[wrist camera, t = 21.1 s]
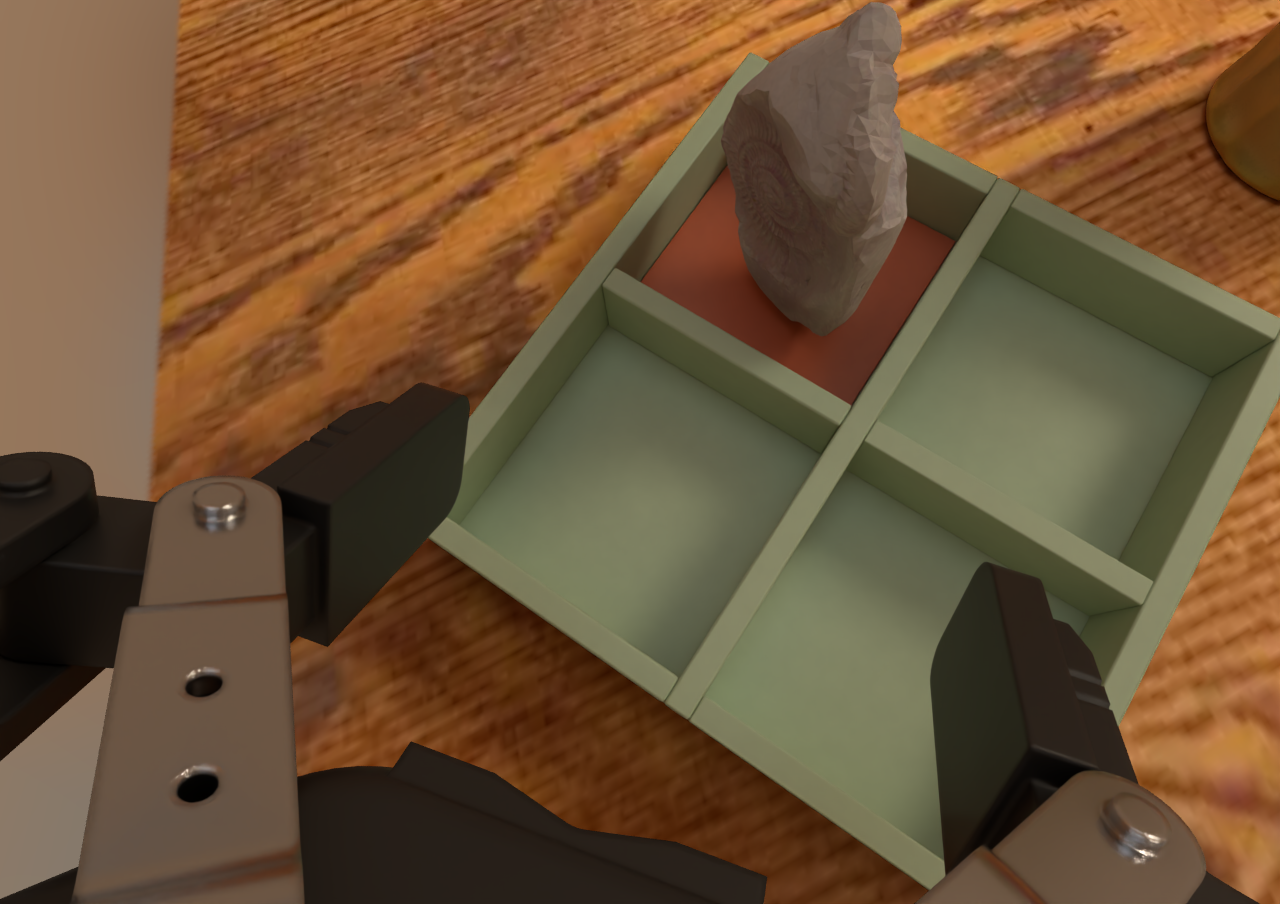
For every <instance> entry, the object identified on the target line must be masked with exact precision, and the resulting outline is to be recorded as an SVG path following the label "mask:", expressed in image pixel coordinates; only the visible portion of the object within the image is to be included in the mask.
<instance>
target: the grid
mask: <svg viewBox="0 0 1280 904" xmlns="http://www.w3.org/2000/svg"><path fill="white" fill-rule="evenodd" d="M769 64H770V63H769V62H768V61H767V60H765V59H763V58H761V57H759V56H757V55H755V54H753V53H749V54H748V56H747V57H746V58H745V59H744V61H743V62H742V63H741V65H740V66H739V67H738V69H737V70H736V71H735V73H734V74H733V75H732V76H731V78H730V79H729V80H728V82H727V83H726V84H725V86H724V87H723V88H722V89H721V91H720V92H719V93H718V95H717V96H716V97H715V99H714V100H713V101H712V102H711V104H710V105H709V106H708V108H707V109H706V110H705V112H704V113H703V114H702V115H701V117H700V118H699V119H698V121H697V122H696V123H695V125H694V126H693V127H692V129H691V130H690V131H689V132H688V134H687V135H686V136H685V138H684V139H683V140H682V142H681V143H680V144H679V145H678V147H677V148H676V149H675V151H674V152H673V153H672V155H671V156H670V157H669V158H668V160H667V161H666V162H665V164H664V165H663V166H662V168H661V169H660V170H659V171H658V173H657V174H656V175H655V177H654V178H653V179H652V181H651V182H650V183H649V184H648V186H647V187H646V188H645V190H644V191H643V192H642V194H641V195H640V196H639V198H638V199H637V200H636V201H635V203H634V204H633V205H632V207H631V208H630V209H629V211H628V212H627V213H626V214H625V216H624V217H623V218H622V220H621V221H620V222H619V224H618V225H617V226H616V227H615V229H614V230H613V231H612V233H611V234H610V235H609V237H608V238H607V239H606V240H605V242H604V243H603V244H602V246H601V247H600V248H599V250H598V251H597V252H596V254H595V255H594V256H593V257H592V259H591V260H590V261H589V263H588V264H587V265H586V267H585V268H584V269H583V270H582V272H581V273H580V274H579V276H578V277H577V278H576V280H575V281H574V282H573V283H572V285H571V286H570V287H569V289H568V290H567V291H566V293H565V294H564V295H563V296H562V298H561V299H560V300H559V302H558V303H557V304H556V306H555V307H554V308H553V309H552V311H551V312H550V313H549V315H548V316H547V317H546V319H545V320H544V321H543V323H542V324H541V325H540V326H539V328H538V329H537V330H536V332H535V333H534V334H533V336H532V337H531V338H530V339H529V341H528V342H527V343H526V345H525V346H524V347H523V349H522V350H521V351H520V352H519V354H518V355H517V356H516V358H515V359H514V360H513V362H512V363H511V364H510V365H509V367H508V368H507V369H506V371H505V372H504V373H503V375H502V376H501V377H500V378H499V380H498V381H497V382H496V384H495V385H494V386H493V388H492V389H491V390H490V392H489V393H488V394H487V395H486V397H485V398H484V399H483V401H482V402H481V403H480V405H479V406H478V407H477V408H476V410H475V411H474V412H473V414H472V415H471V416H470V418H469V421H468V429H467V438H466V447H465V456H464V465H463V474H462V482H461V487H460V490H459V494H458V497H457V499H456V502H455V504H454V506H453V508H452V510H451V512H450V513H449V515H448V516H447V517H446V518H445V520H444V521H443V522H442V523H441V524H440V525H439V526H438V527H437V528H436V529H435V530H434V532H433V533H432V534H431V535H430V536H429V537H428V538H429V539H430V540H431V541H433V542H434V543H436V544H437V545H439V546H440V547H441V548H443V549H444V550H446V551H447V552H449V553H450V554H451V555H453V556H454V557H456V558H457V559H458V560H460V561H461V562H463V563H464V564H466V565H467V566H468V567H470V568H471V569H473V570H474V571H476V572H477V573H478V574H480V575H481V576H483V577H484V578H485V579H487V580H488V581H490V582H491V583H493V584H494V585H495V586H497V587H498V588H500V589H501V590H503V591H504V592H505V593H507V594H508V595H510V596H511V597H513V598H514V599H515V600H517V601H518V602H520V603H521V604H522V605H524V606H525V607H527V608H528V609H530V610H531V611H532V612H534V613H535V614H537V615H538V616H540V617H541V618H542V619H544V620H545V621H547V622H548V623H550V624H551V625H552V626H554V627H555V628H557V629H558V630H559V631H561V632H562V633H564V634H565V635H567V636H568V637H569V638H571V639H572V640H574V641H575V642H577V643H578V644H579V645H581V646H582V647H584V648H585V649H587V650H588V651H589V652H591V653H592V654H594V655H595V656H596V657H598V658H599V659H601V660H602V661H604V662H605V663H606V664H608V665H609V666H611V667H612V668H614V669H615V670H616V671H618V672H619V673H621V674H622V675H623V676H625V677H626V678H628V679H629V680H631V681H632V682H633V683H635V684H636V685H638V686H639V687H641V688H642V689H643V690H645V691H646V692H648V693H649V694H651V695H652V696H653V697H655V698H656V699H658V700H659V701H661V702H664V703H665V704H666V706H668V707H669V708H670V709H672V710H673V711H675V712H676V713H678V714H679V715H680V716H682V717H683V718H685V719H688V720H689V722H690V723H692V724H693V725H695V726H696V727H697V728H699V729H700V730H702V731H703V732H705V733H706V734H707V735H709V736H710V737H712V738H713V739H715V740H716V741H717V742H719V743H720V744H722V745H723V746H724V747H726V748H727V749H729V750H730V751H732V752H733V753H734V754H736V755H737V756H739V757H740V758H742V759H743V760H744V761H746V762H747V763H749V764H750V765H751V766H753V767H754V768H756V769H757V770H759V771H760V772H761V773H763V774H764V775H766V776H767V777H769V778H770V779H771V780H773V781H774V782H776V783H777V784H779V785H780V786H781V787H783V788H784V789H786V790H787V791H788V792H790V793H791V794H793V795H794V796H796V797H797V798H798V799H800V800H801V801H803V802H804V803H806V804H807V805H808V806H810V807H811V808H813V809H814V810H816V811H817V812H818V813H820V814H821V815H823V816H824V817H825V818H827V819H828V820H830V821H831V822H833V823H834V824H835V825H837V826H838V827H840V828H841V829H843V830H844V831H845V832H847V833H848V834H850V835H851V836H853V837H854V838H855V839H857V840H858V841H860V842H861V843H862V844H864V845H865V846H867V847H868V848H870V849H871V850H872V851H874V852H875V853H877V854H878V855H880V856H881V857H882V858H884V859H885V860H887V861H888V862H889V863H891V864H892V865H894V866H895V867H897V868H898V869H899V870H901V871H902V872H904V873H905V874H907V875H908V876H909V877H911V878H912V879H914V880H915V881H917V882H918V883H919V884H921V885H922V886H924V887H925V888H926V889H928V890H930V889H931V888H933V887H934V886H935V885H936V884H937V883H938V882H939V881H940V880H942V879H943V878H944V877H945V865H944V853H943V840H942V828H941V815H940V803H939V790H938V777H937V765H936V752H935V740H934V727H933V715H932V702H931V689H930V673H931V666H932V662H933V658H934V654H935V651H936V648H937V645H938V643H939V641H940V639H941V637H942V635H943V633H944V631H945V629H946V627H947V625H948V623H949V621H950V619H951V617H952V615H953V614H954V612H955V610H956V608H957V606H958V604H959V602H960V600H961V598H962V596H963V594H964V592H965V590H966V588H967V587H968V585H969V583H970V581H971V579H972V577H973V575H974V573H975V571H976V570H977V569H978V567H979V566H980V565H981V564H982V563H984V562H990V563H993V564H996V565H999V566H1002V567H1005V568H1009V569H1012V570H1015V571H1018V572H1021V573H1024V574H1028V575H1031V576H1034V577H1037V578H1039V579H1040V580H1041V581H1042V584H1043V587H1044V590H1045V593H1046V597H1047V600H1048V603H1049V606H1050V610H1051V613H1052V616H1053V619H1056V620H1059V621H1062V622H1065V623H1068V624H1069V625H1070V626H1071V627H1072V628H1073V630H1074V631H1075V632H1076V633H1077V635H1078V636H1079V637H1080V638H1081V639H1082V641H1083V642H1084V643H1085V644H1086V646H1087V647H1088V648H1089V649H1090V651H1091V652H1092V653H1093V656H1094V659H1095V662H1096V665H1097V668H1098V670H1099V673H1100V676H1101V679H1102V682H1101V686H1104V687H1105V690H1106V693H1107V696H1108V699H1109V702H1110V706H1109V709H1110V710H1113V713H1114V716H1115V719H1116V722H1117V725H1118V727H1119V724H1120V722H1121V720H1122V718H1123V716H1124V714H1125V712H1126V710H1127V708H1128V706H1129V704H1130V702H1131V700H1132V698H1133V696H1134V694H1135V692H1136V690H1137V688H1138V686H1139V684H1140V682H1141V679H1142V677H1143V675H1144V673H1145V671H1146V669H1147V667H1148V665H1149V663H1150V661H1151V659H1152V657H1153V655H1154V653H1155V651H1156V649H1157V647H1158V645H1159V643H1160V641H1161V639H1162V636H1163V634H1164V632H1165V630H1166V628H1167V626H1168V624H1169V622H1170V620H1171V618H1172V616H1173V614H1174V612H1175V610H1176V608H1177V606H1178V604H1179V602H1180V600H1181V598H1182V596H1183V594H1184V591H1185V589H1186V587H1187V585H1188V583H1189V581H1190V579H1191V577H1192V575H1193V573H1194V571H1195V569H1196V567H1197V565H1198V563H1199V561H1200V559H1201V557H1202V555H1203V553H1204V551H1205V549H1206V546H1207V544H1208V542H1209V540H1210V538H1211V536H1212V534H1213V532H1214V530H1215V528H1216V526H1217V524H1218V522H1219V520H1220V518H1221V516H1222V514H1223V512H1224V510H1225V508H1226V506H1227V503H1228V501H1229V499H1230V497H1231V495H1232V493H1233V491H1234V489H1235V487H1236V485H1237V483H1238V481H1239V479H1240V477H1241V475H1242V473H1243V471H1244V469H1245V467H1246V465H1247V463H1248V461H1249V458H1250V456H1251V454H1252V452H1253V450H1254V448H1255V446H1256V444H1257V442H1258V440H1259V438H1260V436H1261V434H1262V432H1263V430H1264V428H1265V426H1266V424H1267V422H1268V420H1269V418H1270V415H1271V413H1272V411H1273V409H1274V407H1275V405H1276V403H1277V401H1278V399H1279V397H1280V318H1278V317H1276V316H1274V315H1273V314H1271V313H1269V312H1267V311H1265V310H1263V309H1261V308H1259V307H1257V306H1255V305H1253V304H1251V303H1249V302H1247V301H1245V300H1243V299H1241V298H1239V297H1237V296H1235V295H1233V294H1231V293H1229V292H1227V291H1225V290H1223V289H1221V288H1219V287H1217V286H1215V285H1213V284H1211V283H1209V282H1207V281H1205V280H1203V279H1201V278H1199V277H1197V276H1195V275H1193V274H1191V273H1189V272H1187V271H1185V270H1183V269H1181V268H1179V267H1177V266H1175V265H1173V264H1171V263H1169V262H1167V261H1165V260H1163V259H1161V258H1159V257H1157V256H1155V255H1153V254H1151V253H1149V252H1147V251H1145V250H1143V249H1141V248H1139V247H1137V246H1135V245H1133V244H1131V243H1129V242H1127V241H1125V240H1123V239H1121V238H1119V237H1117V236H1115V235H1113V234H1111V233H1109V232H1107V231H1105V230H1103V229H1101V228H1099V227H1097V226H1095V225H1093V224H1091V223H1089V222H1087V221H1085V220H1083V219H1081V218H1079V217H1077V216H1075V215H1073V214H1071V213H1069V212H1067V211H1065V210H1064V209H1062V208H1060V207H1058V206H1056V205H1054V204H1052V203H1050V202H1048V201H1046V200H1044V199H1042V198H1040V197H1038V196H1036V195H1034V194H1032V193H1030V192H1028V191H1026V190H1024V189H1022V190H1020V188H1019V187H1017V186H1015V185H1013V184H1011V183H1009V182H1007V181H1005V180H1003V179H1000V178H999V179H997V176H996V175H994V174H992V173H990V172H988V171H986V170H984V169H982V168H980V167H978V166H976V165H974V164H972V163H970V162H968V161H966V160H964V159H962V158H960V157H958V156H956V155H954V154H952V153H950V152H948V151H946V150H944V149H942V148H940V147H938V146H936V145H934V144H932V143H930V142H928V141H926V140H924V139H922V138H920V137H918V136H916V135H914V134H912V133H910V132H908V131H906V130H904V129H902V128H900V131H901V136H902V141H903V147H904V153H905V158H906V164H907V170H906V172H907V181H906V191H907V195H906V204H907V218H906V221H905V223H904V225H903V228H902V230H901V232H900V234H899V235H898V237H897V240H896V242H895V244H894V246H893V248H892V250H891V252H890V253H889V255H888V257H887V259H886V260H885V262H884V264H883V265H882V267H881V269H880V271H879V272H878V274H877V275H876V277H875V279H874V280H873V282H872V284H871V286H870V287H869V289H868V291H867V293H866V294H865V296H864V297H863V299H862V301H861V302H860V304H859V306H858V308H857V309H856V311H855V312H854V313H853V314H852V315H851V316H850V317H849V319H848V320H847V321H846V322H845V323H843V324H842V325H840V326H839V327H837V328H836V329H834V330H833V331H832V332H830V333H829V334H828V335H826V336H819V335H817V334H815V333H813V332H812V331H811V330H810V329H809V328H807V327H806V326H804V325H803V324H801V323H800V322H797V321H791V320H790V319H789V318H787V317H786V316H785V315H784V314H783V313H782V312H781V311H780V310H779V309H778V308H777V307H776V306H775V305H774V303H773V302H772V301H771V300H770V299H769V298H768V297H767V296H766V295H765V294H764V292H763V291H762V290H761V289H760V287H759V286H758V284H757V283H756V282H755V280H754V278H753V277H752V275H751V273H750V272H749V270H748V268H747V265H746V263H745V260H744V256H743V253H742V249H741V246H740V240H739V234H738V227H739V220H738V218H737V216H736V214H735V200H736V193H735V189H734V185H733V182H732V180H731V175H730V170H729V168H728V164H727V158H726V155H725V152H724V150H723V148H722V145H721V138H722V135H723V126H724V123H725V120H726V118H727V115H728V113H729V112H730V110H731V107H732V104H733V102H734V99H735V97H736V95H737V94H738V92H739V91H740V90H741V89H742V88H743V87H744V86H745V85H746V84H747V83H748V82H749V81H750V80H751V79H753V78H754V77H755V76H756V75H757V74H759V73H760V72H761V71H762V70H763V69H764V68H766V67H767V66H768V65H769ZM1019 190H1020V191H1019Z"/></svg>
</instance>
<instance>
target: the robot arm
mask: <svg viewBox="0 0 1280 904" xmlns="http://www.w3.org/2000/svg"><path fill="white" fill-rule="evenodd" d="M469 410H470V408H469V401H468V398H467V397H466V396H464V395H461V394H458V393H455V392H451V391H448V390H445V389H442V388H439V387H436V386H432V385H429V384H426V383H422V382H421V383H418V384H416V385H415V386H413V387H412V388H411V389H409V390H408V391H406V392H405V393H404V394H402V395H401V396H400V397H398V398H397V399H396V400H394V401H393V402H391V403H390V404H387V403H384V402H381V401H380V402H376V403H373V404H369V405H366V406H363V407H359V408H356V409H353V410H349V411H348V412H347V413H345V414H344V415H342V416H341V417H339V418H338V419H336V420H335V421H333V422H332V423H331V424H329V425H328V428H327V429H325V428H323V429H322V430H320V431H319V432H317V433H316V434H315V435H313V436H312V437H311V438H310V441H304V442H303V443H301V444H300V445H299V446H297V447H296V448H294V449H293V450H291V451H290V452H288V453H287V454H286V455H284V456H283V457H281V458H280V459H278V460H277V461H275V462H274V463H272V464H271V465H270V466H268V467H267V468H265V469H264V470H262V471H261V472H259V473H258V474H256V475H255V476H254V477H252V478H246V477H239V476H211V477H204V478H199V479H195V480H191V481H188V482H185V483H183V484H180V485H178V486H176V487H174V488H172V489H171V490H169V491H168V492H166V493H165V494H164V495H163V496H162V497H161V498H160V499H159V500H158V502H150V501H141V500H132V499H123V498H115V497H106V496H97V495H96V489H95V482H94V475H93V471H92V470H91V468H90V466H88V465H87V464H86V463H85V462H83V461H82V460H80V459H78V458H75V457H72V456H69V455H65V454H60V453H52V452H26V453H15V454H10V455H4V456H0V761H1V760H2V759H3V758H4V757H6V756H7V755H8V754H9V753H10V752H11V751H12V750H13V749H15V748H16V747H17V746H18V745H19V744H20V743H21V742H23V741H24V740H25V739H26V738H27V737H28V736H29V735H30V734H32V733H33V732H34V731H35V730H36V729H37V728H38V727H39V726H41V725H42V724H43V723H44V722H45V721H46V720H47V719H49V718H50V717H51V716H52V715H53V714H54V713H55V712H56V711H58V710H59V709H60V708H61V707H62V706H63V705H64V704H65V703H67V702H68V701H69V700H70V699H71V698H72V697H73V696H75V695H76V694H77V693H78V692H79V691H80V690H81V689H82V688H84V687H85V686H86V685H87V684H88V683H89V682H90V681H91V680H92V679H94V678H95V677H96V676H97V675H98V674H99V673H101V672H102V671H103V670H104V669H105V668H114V671H113V676H112V682H111V687H110V693H109V699H108V704H107V710H106V715H105V721H104V727H103V732H102V738H101V744H100V749H99V755H98V760H97V766H96V772H95V777H94V783H93V788H92V794H91V799H90V805H89V811H88V816H87V822H86V828H85V833H84V839H83V844H82V850H81V855H80V861H79V867H76V868H74V869H71V870H69V871H67V872H64V873H62V874H59V875H57V876H55V877H52V878H50V879H48V880H45V881H43V882H40V883H38V884H36V885H33V886H31V887H28V888H26V889H23V890H21V891H19V892H16V893H14V894H11V895H9V896H7V897H4V898H2V899H0V904H764V897H765V889H766V882H767V876H764V875H762V874H759V873H756V872H754V871H751V870H748V869H746V868H743V867H740V866H738V865H735V864H733V863H730V862H727V861H725V860H722V859H719V858H717V857H714V856H712V855H709V854H706V853H704V852H701V851H698V850H696V849H693V848H690V847H688V846H685V845H683V844H680V843H677V842H673V841H665V840H658V839H650V838H643V837H635V836H627V835H620V834H612V833H605V832H597V831H589V830H583V829H579V828H576V827H574V826H571V825H570V824H568V823H566V822H565V821H563V820H562V819H560V818H559V817H558V816H556V815H555V814H553V813H552V812H550V811H549V810H547V809H546V808H544V807H543V806H542V805H540V804H539V803H537V802H536V801H534V800H533V799H531V798H530V797H528V796H527V795H526V794H524V793H523V792H521V791H520V790H518V789H517V788H515V787H514V786H512V785H511V784H510V783H508V782H507V781H505V780H504V779H502V778H501V777H499V776H498V775H497V774H495V773H493V772H490V771H488V770H485V769H482V768H480V767H477V766H474V765H472V764H469V763H467V762H464V761H461V760H459V759H456V758H453V757H451V756H448V755H445V754H443V753H440V752H438V751H435V750H432V749H430V748H427V747H424V746H422V745H419V744H416V743H414V742H410V743H409V745H408V746H407V748H406V749H405V751H404V752H403V754H402V755H401V757H400V758H399V760H398V761H397V763H396V764H395V766H394V767H393V768H391V767H382V766H355V767H344V768H334V769H329V770H324V771H319V772H313V773H310V774H306V775H303V776H299V777H297V769H296V749H295V730H294V710H293V691H292V672H291V652H290V643H291V642H292V641H293V640H294V639H295V638H296V637H297V636H300V637H302V638H305V639H308V640H311V641H313V642H316V643H319V644H321V645H324V646H327V647H328V646H329V645H330V644H331V643H332V642H333V640H334V639H335V638H336V637H337V636H338V635H339V634H340V633H341V632H342V631H343V630H344V628H345V627H346V626H347V625H348V624H349V623H350V622H351V621H352V620H353V619H354V618H355V617H356V615H357V614H358V613H359V612H360V611H361V610H362V609H363V608H364V607H365V606H366V605H367V603H368V602H369V601H370V600H371V599H372V598H373V597H374V596H375V595H376V594H377V593H378V591H379V590H380V589H381V588H382V587H383V586H384V585H385V584H386V583H387V582H388V581H389V579H390V578H391V577H392V576H393V575H394V574H395V573H396V572H397V571H398V570H399V569H400V568H401V566H402V565H403V564H404V563H405V562H406V561H407V560H408V559H409V558H410V557H411V556H412V554H413V553H414V552H415V551H416V550H417V549H418V548H419V547H420V546H421V545H422V544H423V542H424V541H425V540H426V539H427V538H428V537H429V536H430V535H431V534H432V533H433V532H434V530H435V529H436V528H437V527H438V526H439V525H440V524H441V523H442V522H443V521H444V520H445V518H446V517H447V516H448V515H449V513H450V512H451V510H452V508H453V506H454V504H455V502H456V499H457V497H458V494H459V490H460V487H461V482H462V474H463V465H464V456H465V447H466V438H467V429H468V421H469ZM1101 682H1102V679H1101V676H1100V673H1099V670H1098V668H1097V665H1096V662H1095V659H1094V656H1093V653H1092V652H1091V651H1090V649H1089V648H1088V647H1087V646H1086V644H1085V643H1084V642H1083V641H1082V639H1081V638H1080V637H1079V636H1078V635H1077V633H1076V632H1075V631H1074V630H1073V628H1072V627H1071V626H1070V625H1069V624H1068V623H1065V622H1062V621H1059V620H1056V619H1053V616H1052V613H1051V610H1050V606H1049V603H1048V600H1047V597H1046V593H1045V590H1044V587H1043V584H1042V581H1041V580H1040V579H1039V578H1037V577H1034V576H1031V575H1028V574H1024V573H1021V572H1018V571H1015V570H1012V569H1009V568H1005V567H1002V566H999V565H996V564H993V563H990V562H984V563H982V564H981V565H980V566H979V567H978V569H977V570H976V571H975V573H974V575H973V577H972V579H971V581H970V583H969V585H968V587H967V588H966V590H965V592H964V594H963V596H962V598H961V600H960V602H959V604H958V606H957V608H956V610H955V612H954V614H953V615H952V617H951V619H950V621H949V623H948V625H947V627H946V629H945V631H944V633H943V635H942V637H941V639H940V641H939V643H938V645H937V648H936V651H935V654H934V658H933V662H932V666H931V673H930V689H931V702H932V715H933V727H934V740H935V752H936V765H937V777H938V790H939V803H940V815H941V828H942V840H943V853H944V865H945V877H944V878H943V879H942V880H940V881H939V882H938V883H937V884H936V885H935V886H934V887H933V888H931V889H930V890H929V891H928V892H927V893H926V894H925V895H924V896H922V897H921V898H920V899H919V900H918V901H917V902H916V903H915V904H1259V903H1258V902H1256V901H1254V900H1252V899H1251V898H1249V897H1247V896H1246V895H1244V894H1242V893H1241V892H1239V891H1237V890H1236V889H1234V888H1232V887H1230V886H1229V885H1227V884H1225V883H1224V882H1222V881H1221V880H1219V879H1217V878H1216V877H1214V876H1213V875H1211V874H1210V873H1208V872H1207V871H1206V863H1205V857H1204V854H1203V852H1202V849H1201V847H1200V845H1199V843H1198V841H1197V839H1196V837H1195V836H1194V834H1193V833H1192V831H1191V830H1190V829H1189V827H1188V826H1187V825H1186V824H1185V822H1184V821H1183V820H1182V819H1181V818H1180V817H1179V816H1178V815H1177V814H1176V813H1175V812H1174V811H1173V810H1172V809H1171V808H1170V807H1169V806H1168V805H1167V804H1165V803H1164V802H1163V801H1162V800H1161V799H1159V798H1158V797H1157V796H1155V795H1154V794H1152V793H1151V792H1150V791H1148V790H1146V789H1145V788H1143V787H1141V786H1140V785H1139V784H1138V781H1137V779H1136V776H1135V773H1134V770H1133V767H1132V764H1131V762H1130V759H1129V756H1128V753H1127V750H1126V747H1125V744H1124V742H1123V739H1122V736H1121V733H1120V730H1119V727H1118V725H1117V722H1116V719H1115V716H1114V713H1113V710H1110V709H1109V706H1110V702H1109V699H1108V696H1107V693H1106V690H1105V687H1104V686H1101Z"/></svg>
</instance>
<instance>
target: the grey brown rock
mask: <svg viewBox="0 0 1280 904" xmlns="http://www.w3.org/2000/svg"><path fill="white" fill-rule="evenodd" d="M901 42H902V39H901V26H900V23H899V20H898V18H897V15H896V12H895V11H894V10H893V9H892V8H891V7H890V6H888V5H885V4H883V3H874V2H870V3H869V4H867V5H866V6H864V7H863V8H862V9H860V10H857V11H856V12H855V13H853V14H851V15H850V16H848V17H847V18H846V19H845V21H844V22H843V23H842V24H841V25H840V26H839V27H836V28H833V29H831V30H827V31H823V32H820V33H818V34H816V35H814V36H812V37H810V38H808V39H806V40H804V41H802V42H801V43H799V44H797V45H795V46H793V47H792V48H790V49H788V50H787V51H785V52H784V53H783V54H781V55H780V56H779V57H777V58H776V59H775V60H773V61H772V62H771V63H770V64H769V65H768V66H767V67H766V68H764V69H763V70H762V71H761V72H760V73H759V74H757V75H756V76H755V77H754V78H753V79H751V80H750V81H749V82H748V83H747V84H746V85H745V86H744V87H743V88H742V89H741V90H740V91H739V92H738V94H737V95H736V97H735V99H734V102H733V104H732V107H731V110H730V112H729V113H728V115H727V118H726V120H725V123H724V126H723V135H722V138H721V145H722V148H723V150H724V152H725V155H726V158H727V164H728V168H729V170H730V175H731V180H732V182H733V185H734V189H735V193H736V200H735V214H736V216H737V218H738V220H739V227H738V234H739V240H740V246H741V249H742V253H743V256H744V260H745V263H746V265H747V268H748V270H749V272H750V273H751V275H752V277H753V278H754V280H755V282H756V283H757V284H758V286H759V287H760V289H761V290H762V291H763V292H764V294H765V295H766V296H767V297H768V298H769V299H770V300H771V301H772V302H773V303H774V305H775V306H776V307H777V308H778V309H779V310H780V311H781V312H782V313H783V314H784V315H785V316H786V317H787V318H789V319H790V320H791V321H797V322H800V323H801V324H803V325H804V326H806V327H807V328H809V329H810V330H811V331H812V332H813V333H815V334H817V335H819V336H826V335H828V334H829V333H830V332H832V331H833V330H834V329H836V328H837V327H839V326H840V325H842V324H843V323H845V322H846V321H847V320H848V319H849V317H850V316H851V315H852V314H853V313H854V312H855V311H856V309H857V308H858V306H859V304H860V302H861V301H862V299H863V297H864V296H865V294H866V293H867V291H868V289H869V287H870V286H871V284H872V282H873V280H874V279H875V277H876V275H877V274H878V272H879V271H880V269H881V267H882V265H883V264H884V262H885V260H886V259H887V257H888V255H889V253H890V252H891V250H892V248H893V246H894V244H895V242H896V240H897V237H898V235H899V234H900V232H901V230H902V228H903V225H904V223H905V221H906V218H907V204H906V195H907V191H906V181H907V172H906V170H907V164H906V158H905V153H904V147H903V141H902V136H901V131H900V121H899V119H898V117H897V116H896V114H895V112H894V111H893V110H894V107H895V104H896V101H897V96H898V87H899V83H898V82H897V81H896V77H897V74H896V73H895V72H894V68H893V64H894V62H895V60H896V58H897V56H898V54H899V52H900V48H901Z"/></svg>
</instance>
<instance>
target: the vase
mask: <svg viewBox="0 0 1280 904" xmlns="http://www.w3.org/2000/svg"><path fill="white" fill-rule="evenodd" d="M1206 121H1207V127H1208V131H1209V135H1210V137H1211V139H1212V142H1213V144H1214V146H1215V147H1216V149H1217V151H1218V153H1219V154H1220V156H1221V157H1222V159H1223V161H1224V162H1225V164H1226V165H1227V166H1228V167H1229V168H1230V169H1231V171H1232V172H1234V173H1235V174H1236V175H1237V176H1238V177H1239V178H1240V179H1242V180H1243V181H1244V182H1246V183H1247V184H1248V185H1250V186H1251V187H1253V188H1254V189H1256V190H1257V191H1259V192H1261V193H1263V194H1265V195H1267V196H1269V197H1271V198H1274V199H1276V200H1279V201H1280V22H1279V23H1278V24H1277V25H1276V26H1275V27H1274V28H1273V29H1272V30H1271V31H1270V32H1269V33H1268V34H1267V35H1266V36H1265V37H1264V38H1263V39H1262V40H1261V41H1260V42H1259V43H1258V44H1257V45H1256V46H1255V47H1253V48H1252V49H1251V50H1250V51H1249V52H1247V53H1246V54H1245V55H1244V56H1242V57H1241V58H1240V59H1239V60H1237V61H1236V62H1235V63H1234V64H1232V65H1231V66H1230V67H1229V68H1228V69H1226V70H1225V71H1224V72H1223V73H1222V74H1221V75H1220V76H1219V77H1218V79H1217V80H1216V82H1215V84H1214V86H1213V87H1212V89H1211V92H1210V94H1209V97H1208V101H1207V107H1206Z"/></svg>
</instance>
